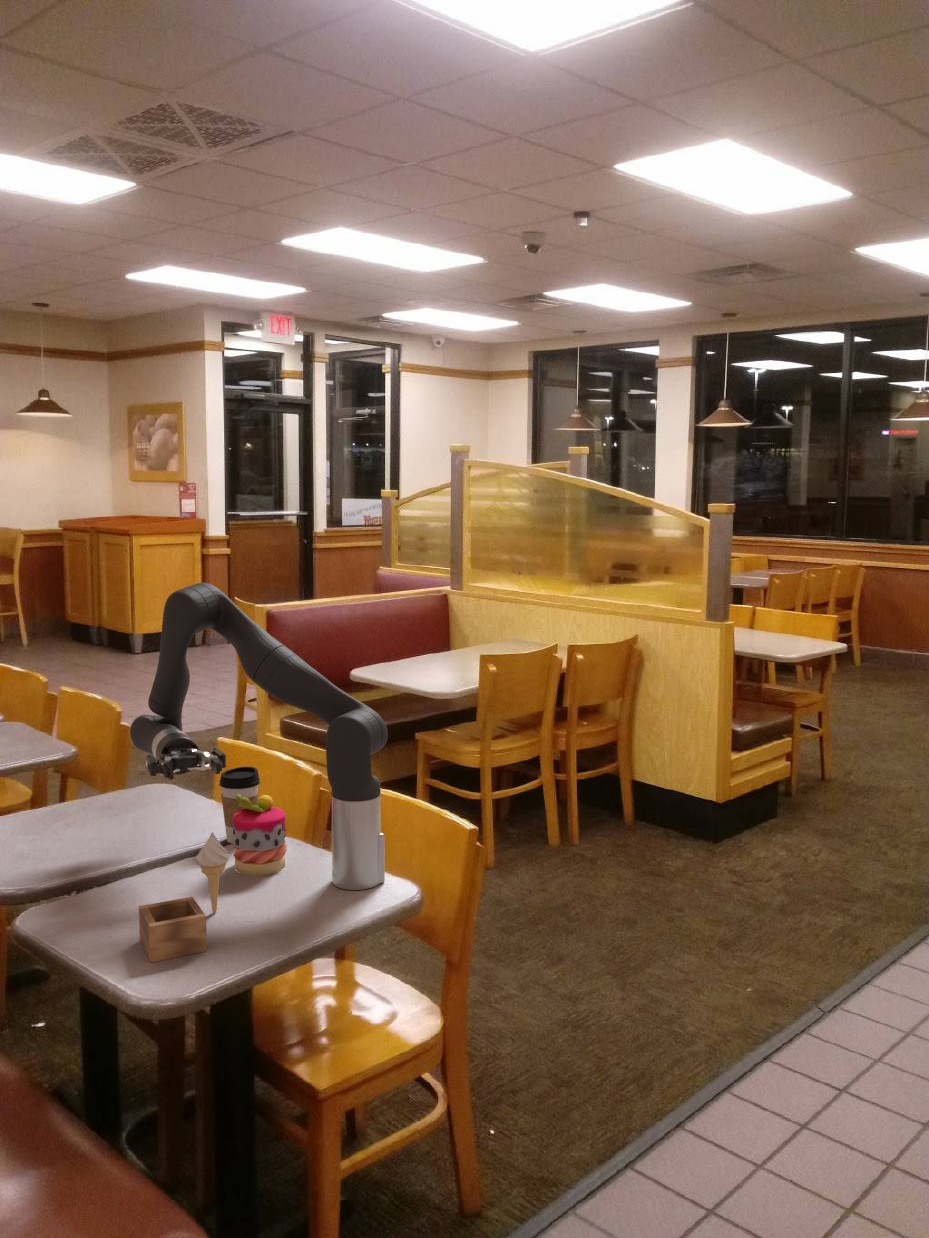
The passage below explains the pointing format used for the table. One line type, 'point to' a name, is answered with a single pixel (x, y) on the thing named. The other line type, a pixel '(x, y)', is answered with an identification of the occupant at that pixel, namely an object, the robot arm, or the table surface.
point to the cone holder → (172, 929)
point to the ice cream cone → (213, 865)
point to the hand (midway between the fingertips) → (195, 771)
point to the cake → (259, 837)
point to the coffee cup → (237, 793)
